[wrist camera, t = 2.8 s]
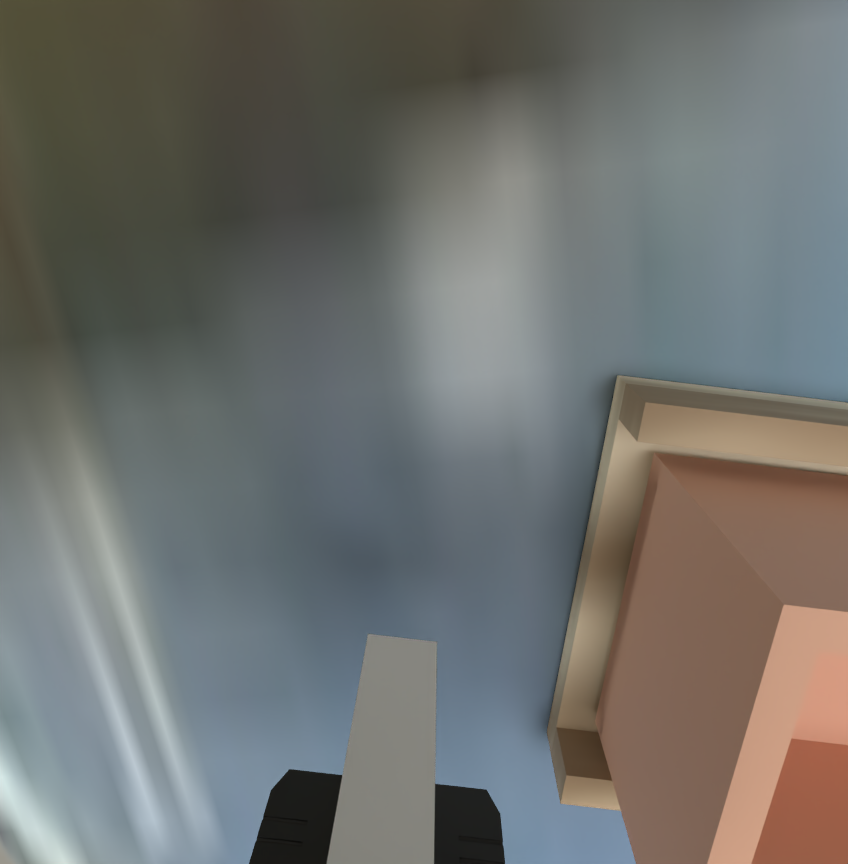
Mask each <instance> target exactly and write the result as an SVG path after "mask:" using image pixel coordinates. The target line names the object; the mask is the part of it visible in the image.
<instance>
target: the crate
mask: <svg viewBox="0 0 848 864" xmlns="http://www.w3.org/2000/svg"><path fill="white" fill-rule="evenodd" d="M595 723H596V726H597V730H598V733H599V736H600V740H601V743H602V747H603V750H604V754H605V757H606V761H607V764H608V768H609V771H610V775H611V778H612V781H613V785H614V788H615V792H616V795H617V799H618V802H619V806H620V809H621V813H622V816H623V819H624V823H625V826H626V830H627V833H628V837H629V840H630V844H631V847H632V851H633V854H634V857H635V861H636V864H848V476H844V475H836V474H828V473H819V472H811V471H802V470H794V469H786V468H777V467H769V466H760V465H752V464H744V463H735V462H727V461H719V460H710V459H702V458H693V457H685V456H677V455H668V454H660V453H654V456H653V460H652V465H651V469H650V474H649V478H648V483H647V487H646V492H645V496H644V501H643V506H642V510H641V515H640V519H639V524H638V528H637V533H636V537H635V542H634V546H633V551H632V555H631V560H630V565H629V569H628V574H627V578H626V583H625V587H624V592H623V596H622V601H621V605H620V610H619V614H618V619H617V623H616V628H615V633H614V637H613V642H612V646H611V651H610V655H609V660H608V664H607V669H606V673H605V678H604V682H603V687H602V692H601V696H600V701H599V705H598V710H597V714H596V719H595Z"/></svg>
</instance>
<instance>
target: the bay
mask: <svg viewBox="0 0 848 864" xmlns="http://www.w3.org/2000/svg"><path fill="white" fill-rule="evenodd" d="M654 453H660V454H668V455H677V456H685V457H693V458H702V459H710V460H719V461H727V462H735V463H744V464H752V465H760V466H769V467H777V468H786V469H794V470H802V471H811V472H819V473H828V474H836V475H844V476H848V403H846V402H838V401H830V400H821V399H813V398H805V397H796V396H788V395H780V394H771V393H763V392H755V391H746V390H738V389H729V388H721V387H713V386H704V385H696V384H688V383H679V382H671V381H663V380H654V379H646V378H638V377H629V376H621V375H617V380H616V385H615V390H614V395H613V400H612V405H611V410H610V415H609V420H608V425H607V430H606V436H605V441H604V446H603V451H602V456H601V461H600V466H599V471H598V476H597V481H596V486H595V491H594V496H593V501H592V506H591V511H590V516H589V521H588V526H587V531H586V536H585V542H584V547H583V552H582V557H581V562H580V567H579V572H578V577H577V582H576V587H575V592H574V597H573V602H572V607H571V612H570V617H569V622H568V627H567V632H566V637H565V643H564V648H563V653H562V658H561V663H560V668H559V673H558V678H557V683H556V688H555V693H554V698H553V703H552V708H551V713H550V718H549V723H548V728H547V736H548V741H549V746H550V751H551V756H552V762H553V767H554V772H555V777H556V783H557V788H558V793H559V798H560V804H568V805H577V806H585V807H594V808H602V809H611V810H619V811H621V809H620V806H619V802H618V799H617V795H616V792H615V788H614V785H613V781H612V778H611V775H610V771H609V768H608V764H607V761H606V757H605V754H604V750H603V747H602V743H601V740H600V736H599V733H598V730H597V726H596V723H595V719H596V714H597V710H598V705H599V701H600V696H601V692H602V687H603V682H604V678H605V673H606V669H607V664H608V660H609V655H610V651H611V646H612V642H613V637H614V633H615V628H616V623H617V619H618V614H619V610H620V605H621V601H622V596H623V592H624V587H625V583H626V578H627V574H628V569H629V565H630V560H631V555H632V551H633V546H634V542H635V537H636V533H637V528H638V524H639V519H640V515H641V510H642V506H643V501H644V496H645V492H646V487H647V483H648V478H649V474H650V469H651V465H652V460H653V456H654Z"/></svg>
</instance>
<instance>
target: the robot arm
mask: <svg viewBox="0 0 848 864" xmlns="http://www.w3.org/2000/svg"><path fill="white" fill-rule="evenodd" d="M436 675H437V642H434V641H425V640H416V639H408V638H399V637H390V636H382V635H373V634H368V637H367V643H366V648H365V654H364V659H363V665H362V670H361V676H360V681H359V687H358V692H357V698H356V703H355V709H354V715H353V720H352V726H351V731H350V737H349V742H348V748H347V753H346V759H345V764H344V770H343V775H335V774H326V773H317V772H309V771H300V770H291V769H289V770H288V772H287V773H286V774H285V775H284V776H283V777H282V778H281V780H280V781H279V782H278V783H277V784H276V785H275V786H274V788H273V789H272V790H271V793H270V796H269V799H268V803H267V806H266V809H265V813H264V817H263V820H262V823H261V826H260V829H259V832H258V836H257V841H256V842H255V846H254V849H253V852H252V856H251V859H250V862H249V864H505V858H504V848H503V845H502V843H503V838H502V828H501V817H500V813H499V811H498V809H497V807H496V806H495V804H494V802H493V800H492V799H491V797H490V795H489V793H488V792H487V790H484V789H475V788H466V787H458V786H449V785H440V784H435V748H436Z"/></svg>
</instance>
